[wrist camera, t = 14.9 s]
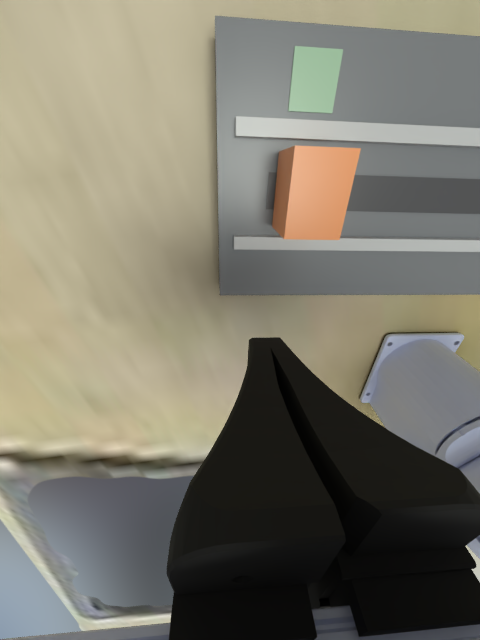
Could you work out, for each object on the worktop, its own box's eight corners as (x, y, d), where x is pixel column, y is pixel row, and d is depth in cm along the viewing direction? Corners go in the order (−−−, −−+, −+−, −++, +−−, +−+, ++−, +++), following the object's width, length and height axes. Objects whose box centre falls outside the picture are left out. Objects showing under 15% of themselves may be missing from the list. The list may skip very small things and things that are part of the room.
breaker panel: (468, 284, 22) (496, 297, 19) (219, 284, 20) (219, 298, 18) (590, 64, 14) (658, 43, 12) (215, 36, 13) (214, 8, 11)
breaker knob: (317, 227, 16) (339, 240, 13) (272, 226, 16) (284, 239, 13) (330, 153, 14) (361, 148, 11) (279, 151, 14) (295, 145, 11)
